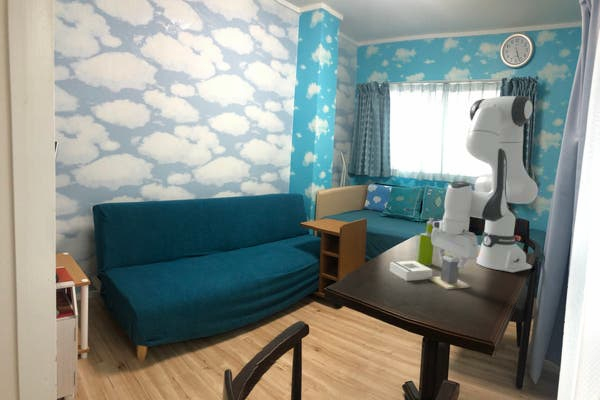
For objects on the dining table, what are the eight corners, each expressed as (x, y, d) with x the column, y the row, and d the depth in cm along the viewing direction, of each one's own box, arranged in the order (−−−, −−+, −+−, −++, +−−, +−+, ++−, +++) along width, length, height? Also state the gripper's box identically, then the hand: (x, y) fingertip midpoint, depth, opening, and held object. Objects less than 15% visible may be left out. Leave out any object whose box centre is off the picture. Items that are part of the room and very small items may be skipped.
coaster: (450, 277, 146) (450, 275, 145) (469, 287, 136) (469, 285, 136) (428, 279, 142) (428, 277, 142) (446, 289, 133) (447, 287, 133)
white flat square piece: (413, 269, 154) (414, 259, 153) (431, 278, 143) (432, 269, 143) (389, 270, 150) (390, 261, 149) (406, 280, 140) (407, 270, 139)
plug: (449, 278, 142) (452, 255, 140) (457, 282, 138) (460, 258, 136) (440, 279, 140) (442, 256, 139) (448, 283, 136) (450, 259, 135)
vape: (429, 266, 158) (434, 219, 155) (416, 262, 162) (420, 216, 159) (433, 264, 161) (438, 218, 158) (419, 260, 165) (424, 215, 162)
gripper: (484, 233, 127) (479, 273, 130) (443, 220, 147) (440, 255, 149) (469, 234, 125) (465, 274, 127) (429, 221, 144) (426, 256, 147)
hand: (451, 264), depth 138 cm, fingers open, 8 cm apart
